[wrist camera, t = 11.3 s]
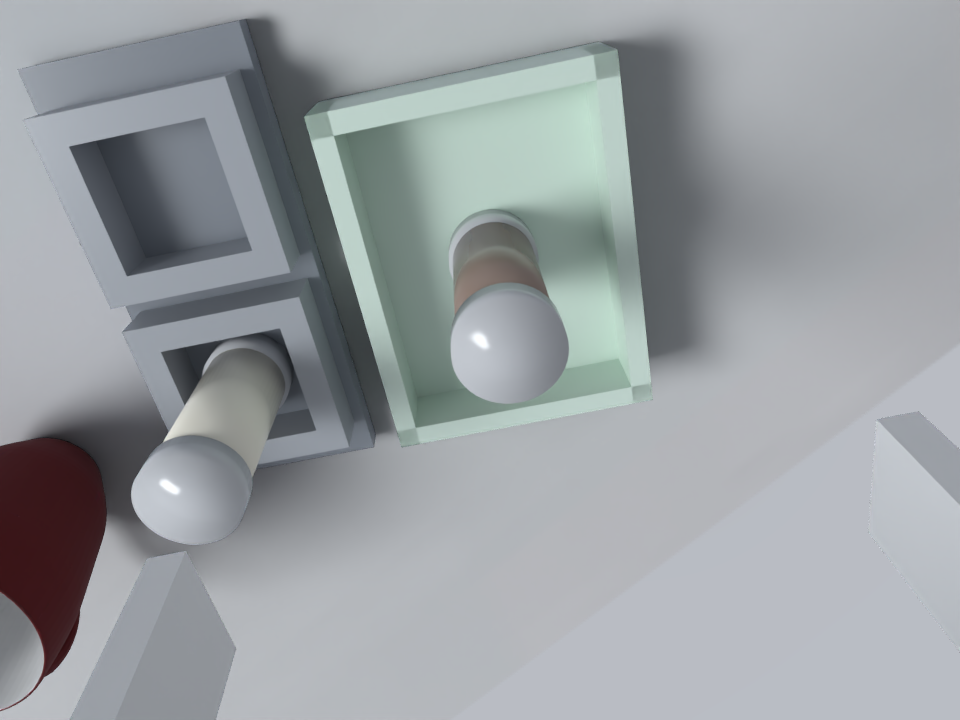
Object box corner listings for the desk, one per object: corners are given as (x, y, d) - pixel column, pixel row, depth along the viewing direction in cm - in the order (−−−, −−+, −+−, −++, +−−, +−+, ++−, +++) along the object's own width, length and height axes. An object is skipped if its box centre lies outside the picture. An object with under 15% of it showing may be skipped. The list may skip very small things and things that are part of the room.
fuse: (197, 341, 31) (112, 468, 23) (279, 324, 31) (221, 447, 23) (227, 411, 32) (157, 552, 25) (304, 396, 32) (259, 534, 24)
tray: (318, 101, 28) (303, 116, 25) (598, 41, 27) (617, 49, 24) (405, 406, 34) (401, 447, 31) (634, 362, 33) (652, 400, 30)
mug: (192, 559, 38) (115, 739, 29) (42, 588, 38) (-80, 775, 29) (101, 382, 33) (-26, 533, 24) (-71, 418, 33) (-257, 580, 24)
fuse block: (31, 66, 27) (-14, 76, 24) (245, 19, 26) (223, 24, 24) (210, 466, 35) (191, 506, 32) (375, 434, 35) (370, 473, 32)
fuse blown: (440, 218, 29) (439, 311, 21) (527, 201, 29) (560, 287, 21) (458, 299, 31) (464, 413, 23) (541, 282, 31) (576, 391, 23)
